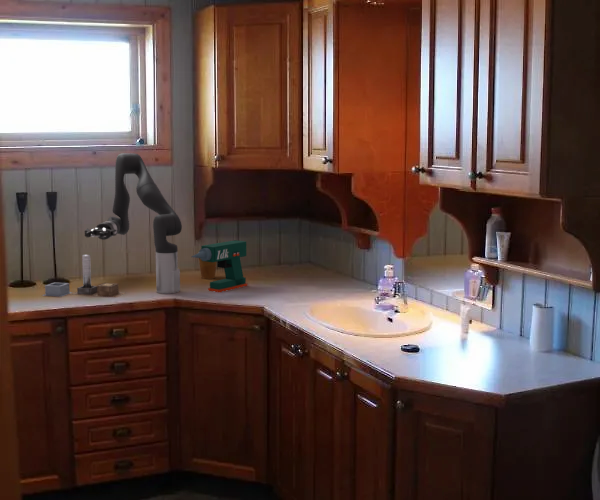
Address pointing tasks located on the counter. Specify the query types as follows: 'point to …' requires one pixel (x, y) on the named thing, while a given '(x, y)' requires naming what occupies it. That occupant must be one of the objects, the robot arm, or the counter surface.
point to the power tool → (225, 263)
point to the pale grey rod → (86, 271)
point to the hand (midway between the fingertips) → (93, 235)
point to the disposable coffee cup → (207, 269)
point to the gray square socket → (57, 289)
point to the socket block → (100, 290)
